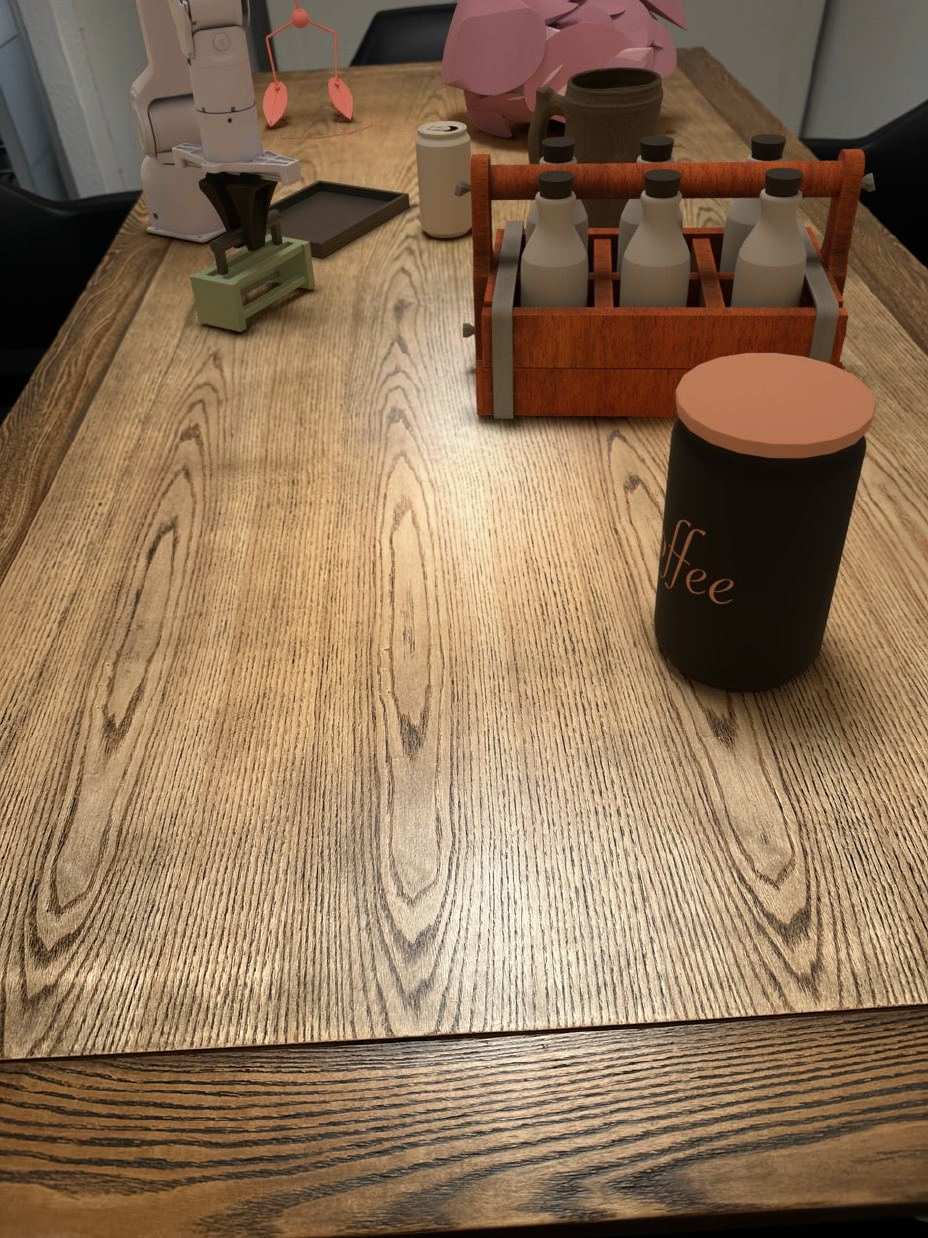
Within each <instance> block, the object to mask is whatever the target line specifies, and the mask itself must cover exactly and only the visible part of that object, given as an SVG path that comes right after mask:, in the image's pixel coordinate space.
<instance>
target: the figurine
mask: <svg viewBox="0 0 928 1238" xmlns="http://www.w3.org/2000/svg"><path fill="white" fill-rule="evenodd" d="M293 1H294V5H295V6H296V8H294V9H293V10H292V12H291V16H290V20H291V21H289V22H287V23H286V24H285V25H282V26H281V27H280V28H278V29H276V30H275V31H273V32H271V33H270V34H268V35H266V37H265V43H266V47H267V48H266V49H267V51H268V56H269V60H270V62H269V63H270V65H271V71H272V75H273V81H272V82H271V83H270V84H269V85H268V86H267V89H266V91H265V92H264V96H263V100H262V102H263V103H262V106H263V108H262V109H263V114H264V116H265V118H266V119H265V120H266V121H267V123H268V125H269V126H270V128H272V127H273V126H275V125H276V124H277V122H279V121H280V120H285V118H286V117H285V111H286V110H287V107H288V101H289V96H288V95H289V94H288V89H287V86H286V84H285V83H284V82H283V81H282V80H280V81H279V80H278V79H277V75H276V69H275V64H274V61H273V55H272V51H271V47H270V41H269V39H270V38H272V37H273V36H275V35H277V34H278V33H280V32H282V31H283V30H285V29H286V28H288V27H290V26H291V25H293V27H295V28H296V29H304V28H306V27H307V26H308V24H311V25H312V26H315V27H317V28H320V29H322V30H324V31H326V32H329V33H331V34H333V37H334V38H333V39H334V40H333V42H334V76H333V77H330V79H329V80H328V82H327V93H328V96H329V100H330V102H331V104H332V105H333V107H334V108H335V109H336V114H337V115H338V116H341V115H342V116H343V117H345V118H346V119H347V120H349V121H351V119H352V117H353V116H352V115H353V110H354V99H353V95H352V92H351V90H350V88H349V87H348V86H347V85H346V83H345V82H344V80H342V78H339V75H338V74H339V72H338V71H339V70H338V69H339V68H338V34H337V32H336V31H334V30H332V29H330V28H328V27H325V26H323V25H321V24H319V23H316V22H314V21H312V20H311V19H310V17H309V13H308V11H307V10H306V9H304V8H301V7H300V4H299V2H298V0H293ZM373 126H374V125H373V124H371V125H369V126H366V127H364V128H361V129H357V130H354V131H350V132H345V133H339V134H333V135H326V136H317V137H279V139H280V140H319V139H324V138H325V139H326V138H332V137H338V136H339V137H340V136H343V135H353V134H355V133H358V132H360V131H363V130H366V129H369V128H372V127H373Z"/></svg>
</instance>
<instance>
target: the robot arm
mask: <svg viewBox="0 0 928 1238" xmlns="http://www.w3.org/2000/svg"><path fill="white" fill-rule="evenodd" d="M135 5H136V9H137V14H138V19H139V24H140V28H141V33H142V38H143V42H144V47H145V52H146V53H145V54H146V57H147V62H148V65H147V66H146V68H145V69H144V70H143V71H142V72H141V73H140V75H139V76H138V77H137V78H136V79H135V80H134V81H133V83H132V85H131V86H130V92H129V95H130V99H131V105H132V107H131V109H132V117H133V122H134V127H135V131H136V135H137V138H138V141H139V145H140V147H141V150H142V152H143V153H144V154H145V155H146V156H145V158H144V159H143V161H142V163H141V167H140V184H141V189H142V192H143V196H144V202H145V207H146V210H147V215H148V220H149V224H150V226H148V227H146V232H147V233H150V234H155V235H160V236H166V237H170V238H174V239H181V240H186V241H192V242H197V243H201V244H202V243H207V242H208V241H211V240H212V239H214V238H217V237H219V236H221V235H223V234H224V233H226V234H227V233H229V232H231V231H232V230H234V229H236V228H238V227H240V226H242V230H243V235H244V240H245V241H243V242H242V243H240V244H238V245H236V246H234V247H233V249H237V250H239V249H241V248H243V247H244V246H246V247H247V249H248V251H252V252H254V251H256V250H258V249H260V248H261V247H263V246H265V238H266V226H267V218H268V212H269V208H270V205H271V204H272V200H273V197H274V193H275V191H276V188H277V186H278V184H279V183H281V185H282V186H287V187H290V186H292V185H294V184H296V183H298V182H300V181H302V173H301V166H300V160H299V159H296V158H291V157H288V156H285V155H282V154H280V153H277V152H274V151H271V150H268V149H267V148H263V143H262V136H261V130H260V129H261V128H260V122H259V118H258V116H259V115H258V109H257V103H256V95H255V90H254V89H255V88H254V81H253V75H252V68H251V61H250V55H249V48H248V41H247V35H246V31H245V30H244V29H243V28H245V29H248V28H249V26H250V22H251V8H250V0H135ZM242 26H243V28H242Z"/></svg>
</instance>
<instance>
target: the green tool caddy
mask: <svg viewBox="0 0 928 1238" xmlns="http://www.w3.org/2000/svg"><path fill="white" fill-rule="evenodd" d="M281 220H282V216H281V213H280V212H279V211H278V210H276V209H274V210H272V211H270V212H268V218H267V226H266V229H268V228H270V230H271V234H268V235H266V238H265V246H263V247H261V248H260V249H258V250H256V251H254V252H252V251H248V249H247V246H246V247H244V248H242V249H241V250H239V251H237V252H235V253H233V254H231V255H230V256H228V257H227V254H226V252H227V251H228V250H230V249H232V248H234V246H236V245H238V244H240V243H242V242H243V241H245V240H244V235H243V230H242V226H240V227H238V228H236V229H234V230H232V231H231V232H229V233H227V232H226V233H225V234H222V235H220V236H218V237H216V238H215V239H213V240H210V243H209V247H210V250H211V252H212V253H213V254H214V259H215V264H212V265H211V266H209V267H206V268H205V269H203V270H201V271H199V272H195V273H193V274H191V275H189V279H190V284H191V289H192V293H193V299H194V304H195V309H196V313H197V319H198V322H199V323H201V324H205V325H208V326H213V327H218V328H222V329H226V330H229V331H235V332H239V333H242V332H243V331H245V330H247V329H248V327H247V322H246V320H247V319H249V318H250V317H252V316H253V315H254V314H256V313H258V312H259V311H262V310H263V309H265V308H266V307H268V306H269V305H271V304H273V303H276V302H277V301H278V300H279V299H282V298H283V297H284V296H286V295H288V294H290V293H292V292H293V291H294V290H296V289H298V288H302V289H307V290H312V289H313V288H315V287H316V282H315V273H314V267H313V259H312V258H313V256H311V249H310V242H308V241H303V240H298V239H292V238H287V237H282V235H281V228H280V222H281ZM269 282H273V283H278V284H280V285H278V286H276V287H274V288H273V289H271V290H269V291H268V292H266V293H264V294H262V295H261V296H259V297H257V298H255V299H254V300H253V301H250V302H249V303H247V304H246V305H243V299H242V298H243V297H244V296H246V295H248V294H249V293H251V292H253V291H254V290H257V289H259V288H260V287H262V286H264V285H266V284H267V283H269Z"/></svg>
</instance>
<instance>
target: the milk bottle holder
mask: <svg viewBox="0 0 928 1238" xmlns="http://www.w3.org/2000/svg"><path fill="white" fill-rule="evenodd" d="M750 141H751V142H750V143H751V153H749V154H748V155H747V158H746V160H745V161H707V162H703V161H699V162H676V161H675V157H674V156H673V155H672V154H673V149H674V145H675V138H673V137H671V136H666V135H659V136H647V137H644V138H642V139H641V140H640V149H641V155H640V156H639V157H638V159H637V162H636V163H607V164H577V160H576V158H575V157H574V156H573V154H574V148H575V140H574V139H572V138H567V137H564V136H552V137H548V138H547V139H544V140H543V141H542V150H543V157H542V158H541V159H540V162H539V164H529V163H528V164H527V163H526V164H524V163H523V164H492V161H491V154H490V153H471V166H470V179H471V183H468V182H466V181H464V180H462V179H460V180H459V182H458V184H457V186H456V189H455V193H454V195H456V196H458V197H460V196H462V195H464V194H466V193H468V192H471V209H472V227H471V237H472V238H471V239H472V290H473V291H472V292H473V295H472V296H473V321H474V322H473V323H474V325H472V324H471V323H469V322H464V323H463V322H462V338H464V339H465V338H467V339H468V338H471V337H472V336H473V335H474V352H475V399H476V400H475V401H476V402H475V403H476V415H477V416H493V419H494V420H514V418H515V416H541V417H542V416H546V417H547V416H549V417H550V416H552V417H554V416H555V417H556V416H557V417H560V416H561V417H641V418H642V417H645V418H646V417H647V418H648V417H649V418H651V417H653V418H657V417H658V418H662V417H663V418H678V412H677V406H676V389H677V387H678V385H679V383H680V381H681V379H682V377H683V376H684V375H685V374H686V373H688V372H689V371H691V370H692V369H693V368H695V367H696V366H698V365H700V364H702V363H705V362H708V361H711V360H714V359H717V358H719V357H725V356H731V355H738V354H744V353H779V354H787V355H794V356H802V357H807V358H810V359H814V360H818V361H821V362H825V363H828V364H832V365H834V366H836V367H838V368H840V369H842V370H844V371H846V368H845V366H844V364H843V361H841V356H842V352H843V348H844V345H845V344H844V343H845V340H846V336H847V328H848V327H847V326H848V321H849V314H848V312H847V309H846V307H844V303H845V300H844V298H843V296H844V290H845V285H846V280H847V275H848V265H849V252H850V247H851V242H852V238H853V231H854V226H855V220H856V216H857V211H858V206H859V200H860V196H861V190H862V189H863V190H865V191H866V192H868V193H869V192H873V191H876V187H875V186H876V185H875V180H874V174H873V173H872V172H870V173H867V174H865V166H866V157H865V153H864V150H863V149H861V148H849V149H847V148H846V149H845V148H844V149H840V152H839V153H838V158H837V160H804V161H803V160H791V161H790V160H788V161H787V159H786V158H787V157H786V156H785V154H783V153H784V150H785V146H786V143H787V138H786V137H785V136H783V135H781V134H775V133H762V134H761V133H759V134H755V135H753V136H752V137H751V140H750ZM804 198H806V199H807V198H808V199H810V198H812V199H813V198H830V201H829V207H828V213H827V219H826V225H825V231H824V235H823V236H824V237H823V241H822V243H821V246H820V245H819V242H818V241H817V238H816V236H815V233H814V232H813V229H812V227H811V226H805V223H804V221H803V219H802V218H797V212H798V208H799V205H800V204H801V202H802V200H803V199H804ZM583 199H629V201H628V203H627V204H626V206H625V208H624V211H623V213H622V215H621V219H620V224H619V228H588V216H587V213H586V211H585V208H584V206H583V204H582V202H581V200H583ZM683 199H684V200H685V199H686V200H687V199H688V200H690V199H696V200H697V199H734V200H733V202H732V204H731V205H730V207H729V210H728V212H727V215H726V218H725V223H724V226H721V227H714V226H713V227H710V226H709V227H684V218H683V212H682V209H681V206H680V203H681V202H682V200H683ZM492 201H532V204H531V205H530V208H529V210H528V212H527V216H526V221H524V220H506V221H505V225H504V228H496V232H495V240H494V244H493V212H492V211H493V207H492V206H493V205H492Z"/></svg>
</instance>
